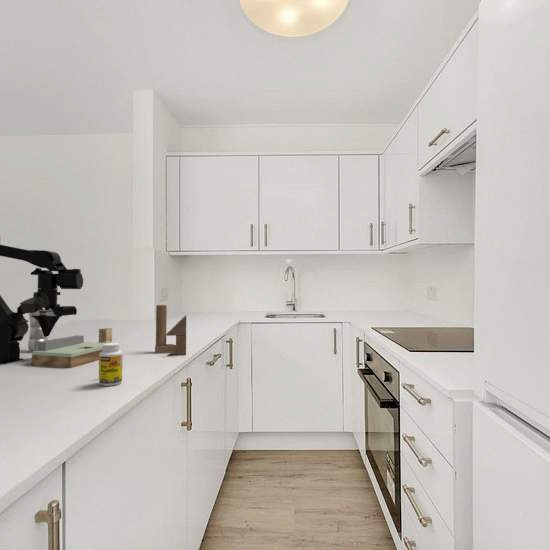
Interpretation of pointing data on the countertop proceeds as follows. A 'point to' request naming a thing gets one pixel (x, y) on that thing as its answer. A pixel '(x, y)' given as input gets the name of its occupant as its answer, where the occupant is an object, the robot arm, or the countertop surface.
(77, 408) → the countertop surface
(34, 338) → the plastic bottle
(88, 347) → the lid
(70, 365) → the brown wooden slab
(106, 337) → the pin
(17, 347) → the robot arm
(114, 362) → the supplement bottle
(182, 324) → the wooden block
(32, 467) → the countertop surface
